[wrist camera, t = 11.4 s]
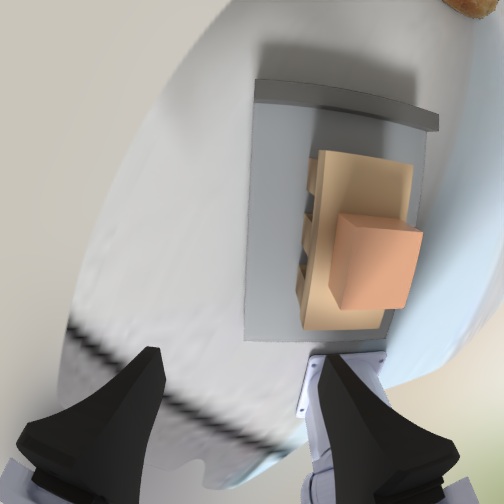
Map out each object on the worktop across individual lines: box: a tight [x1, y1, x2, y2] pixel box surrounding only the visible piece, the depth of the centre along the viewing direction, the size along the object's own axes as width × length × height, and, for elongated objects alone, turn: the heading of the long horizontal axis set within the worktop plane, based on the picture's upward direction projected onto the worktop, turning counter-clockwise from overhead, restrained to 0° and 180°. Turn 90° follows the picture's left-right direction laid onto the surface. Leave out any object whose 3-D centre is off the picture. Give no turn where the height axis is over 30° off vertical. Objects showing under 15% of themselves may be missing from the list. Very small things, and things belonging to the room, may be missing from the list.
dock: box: [244, 79, 439, 342], centre depth 18 cm, size 18×12×4 cm, turn 177°
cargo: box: [328, 213, 423, 310], centre depth 13 cm, size 4×4×2 cm
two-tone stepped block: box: [295, 150, 414, 330], centre depth 16 cm, size 10×5×4 cm, turn 177°
